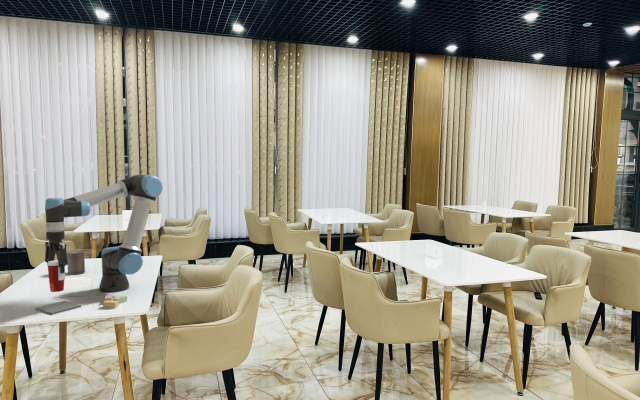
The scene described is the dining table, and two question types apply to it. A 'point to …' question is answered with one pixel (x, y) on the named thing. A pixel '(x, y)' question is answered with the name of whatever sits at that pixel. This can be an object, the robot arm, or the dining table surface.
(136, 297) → the dining table surface
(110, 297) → the rose brick
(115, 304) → the ochre brick
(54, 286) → the paper cup
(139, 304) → the dining table surface
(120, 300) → the sage brick
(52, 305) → the slate mat
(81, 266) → the pillar candle
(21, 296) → the dining table surface
